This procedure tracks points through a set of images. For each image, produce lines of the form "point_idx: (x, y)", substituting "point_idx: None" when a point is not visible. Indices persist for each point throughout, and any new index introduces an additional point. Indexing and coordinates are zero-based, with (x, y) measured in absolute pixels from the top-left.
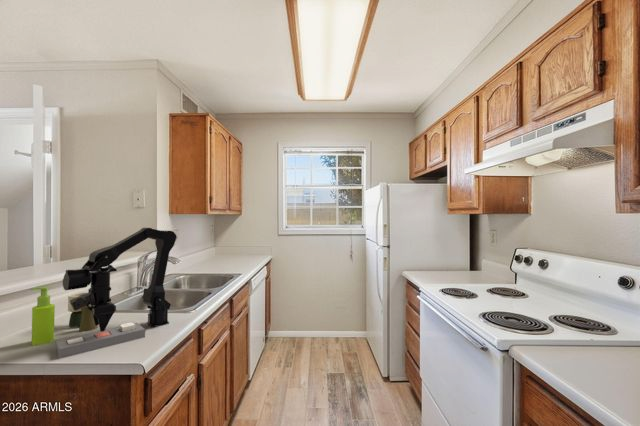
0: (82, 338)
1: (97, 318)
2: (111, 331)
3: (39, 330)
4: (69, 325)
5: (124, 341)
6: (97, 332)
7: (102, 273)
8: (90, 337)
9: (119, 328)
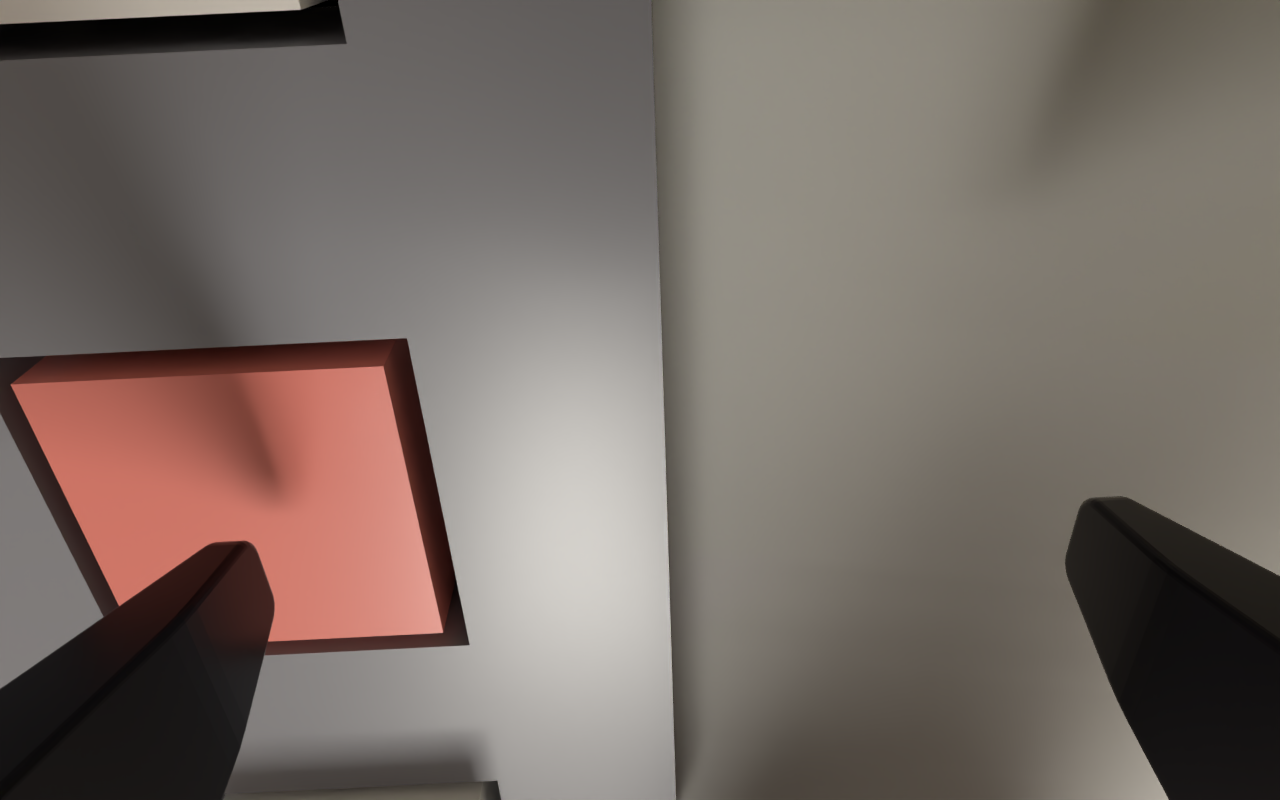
0: (104, 5)
1: (1226, 719)
2: (393, 675)
3: None
4: None
5: None
6: (552, 439)
7: None
8: (129, 241)
9: (522, 795)
